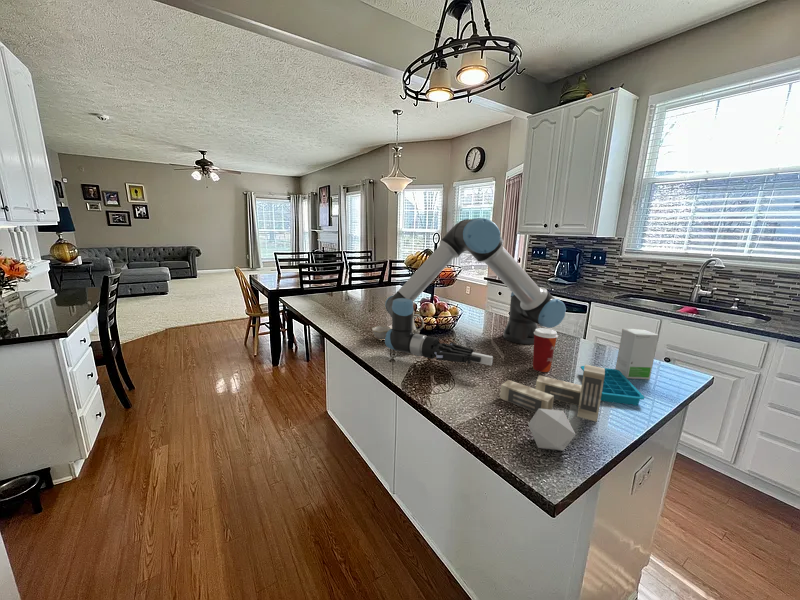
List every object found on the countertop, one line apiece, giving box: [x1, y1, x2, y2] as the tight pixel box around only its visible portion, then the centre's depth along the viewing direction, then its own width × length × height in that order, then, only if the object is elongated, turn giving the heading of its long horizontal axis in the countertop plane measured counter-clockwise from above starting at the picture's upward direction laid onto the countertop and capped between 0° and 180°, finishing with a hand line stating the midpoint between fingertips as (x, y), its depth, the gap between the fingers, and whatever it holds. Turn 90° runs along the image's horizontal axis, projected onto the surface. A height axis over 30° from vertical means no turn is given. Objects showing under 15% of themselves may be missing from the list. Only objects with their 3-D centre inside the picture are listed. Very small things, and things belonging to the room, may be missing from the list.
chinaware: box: [371, 309, 425, 340], centre depth 136 cm, size 28×17×17 cm, turn 53°
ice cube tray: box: [580, 365, 645, 406], centre depth 101 cm, size 12×20×3 cm, turn 166°
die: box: [527, 409, 576, 452], centre depth 73 cm, size 8×9×10 cm
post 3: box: [576, 364, 606, 423], centre depth 85 cm, size 5×4×13 cm
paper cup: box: [532, 327, 559, 373], centre depth 113 cm, size 8×8×14 cm
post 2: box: [535, 375, 582, 407], centre depth 95 cm, size 5×4×13 cm
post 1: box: [499, 379, 555, 413], centre depth 91 cm, size 5×4×13 cm
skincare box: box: [614, 328, 659, 380], centre depth 109 cm, size 8×7×16 cm
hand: (491, 361), depth 104 cm, fingers closed
